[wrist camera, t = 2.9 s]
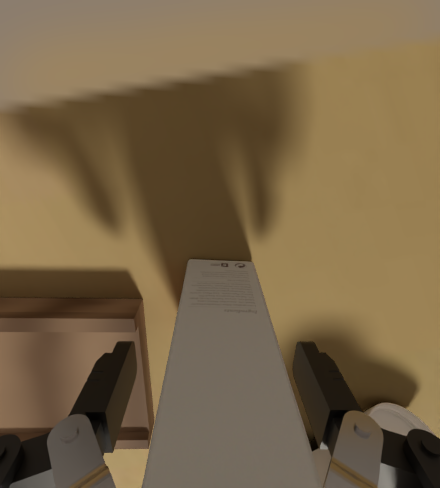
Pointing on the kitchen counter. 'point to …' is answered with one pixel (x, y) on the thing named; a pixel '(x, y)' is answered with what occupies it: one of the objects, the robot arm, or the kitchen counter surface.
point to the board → (67, 362)
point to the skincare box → (227, 392)
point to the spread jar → (386, 418)
